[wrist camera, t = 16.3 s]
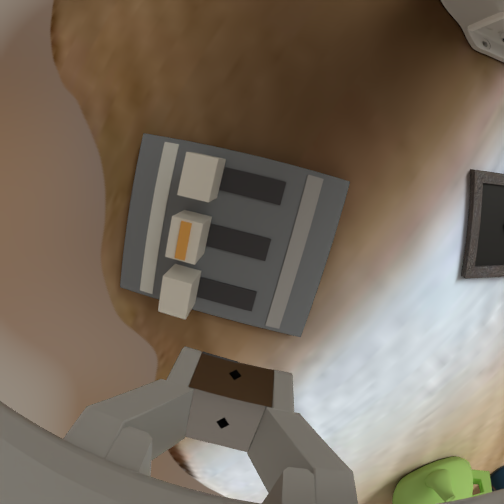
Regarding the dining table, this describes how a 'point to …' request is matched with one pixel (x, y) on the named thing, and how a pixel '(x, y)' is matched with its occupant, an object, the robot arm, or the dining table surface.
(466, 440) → the dining table surface
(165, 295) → the breaker
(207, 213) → the panel
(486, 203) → the picture frame
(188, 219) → the breaker mid
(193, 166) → the block
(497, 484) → the soda can
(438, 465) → the teapot
